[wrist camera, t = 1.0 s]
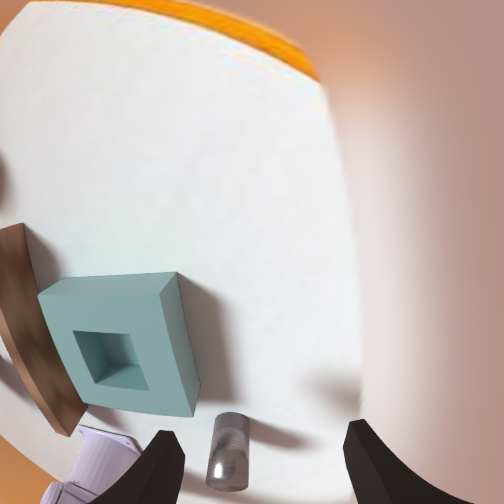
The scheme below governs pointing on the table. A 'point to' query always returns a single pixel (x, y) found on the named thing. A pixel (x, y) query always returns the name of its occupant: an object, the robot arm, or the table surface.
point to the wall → (33, 337)
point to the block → (124, 341)
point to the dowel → (229, 453)
